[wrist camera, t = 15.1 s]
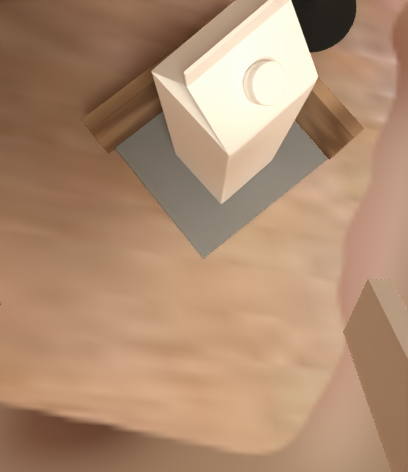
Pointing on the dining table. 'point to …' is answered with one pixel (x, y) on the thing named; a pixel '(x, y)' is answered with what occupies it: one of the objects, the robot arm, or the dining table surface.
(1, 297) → the dining table surface
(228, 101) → the milk carton
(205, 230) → the mat
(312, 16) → the wine glass
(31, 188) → the dining table surface
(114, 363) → the dining table surface
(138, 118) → the corner walls
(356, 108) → the dining table surface
